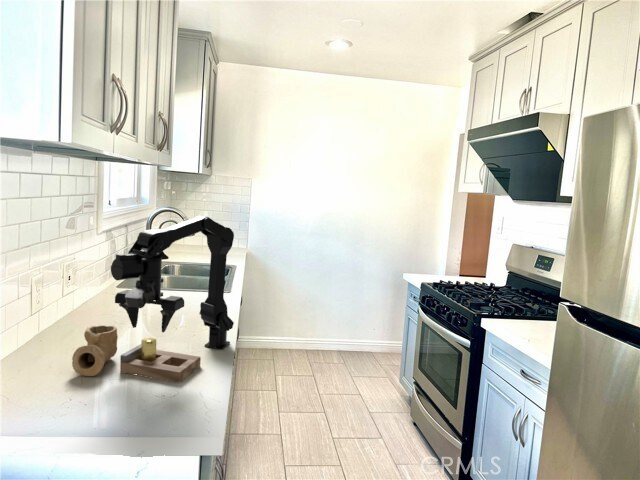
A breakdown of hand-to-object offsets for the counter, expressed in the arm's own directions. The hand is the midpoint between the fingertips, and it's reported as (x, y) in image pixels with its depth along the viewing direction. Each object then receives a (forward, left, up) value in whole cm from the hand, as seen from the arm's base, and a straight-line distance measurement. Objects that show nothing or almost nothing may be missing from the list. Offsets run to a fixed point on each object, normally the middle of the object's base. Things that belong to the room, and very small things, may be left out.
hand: (148, 329), depth 134 cm
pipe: (+4, -13, -12) cm, 18 cm away
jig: (0, +4, -11) cm, 12 cm away
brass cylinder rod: (0, 0, -11) cm, 11 cm away
